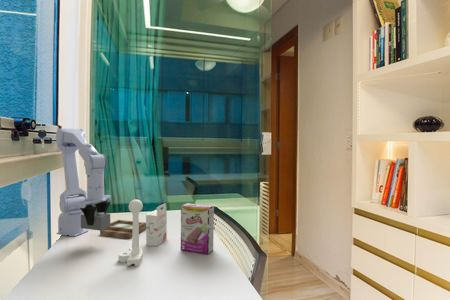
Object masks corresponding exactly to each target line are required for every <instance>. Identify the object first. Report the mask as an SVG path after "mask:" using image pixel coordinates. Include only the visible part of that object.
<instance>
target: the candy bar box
mask: <svg viewBox="0 0 450 300" xmlns="http://www.w3.org/2000/svg"><path fill="white" fill-rule="evenodd" d="M214 218H215V206H214V205H210V204H209V205H208V204H197V203H192V202H191V203H188V202H187V203H184V204H182V205H181V207H180V251H184V252H191V253H197V254H202V253H203V254H204V255H210V253H211V252H213V251H214V232H215V230H214V228H215V227H214V226H215V225H214V222H215V220H214Z"/></svg>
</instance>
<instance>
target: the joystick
mask: <svg viewBox="0 0 450 300" xmlns="http://www.w3.org/2000/svg"><path fill="white" fill-rule="evenodd" d="M143 205H144V204H143V202H142V201H141V200H140V199H135V198H134V199H132V200H131V201H129V204H128V210H129V212H131V214H132V221H133V229H132V238H131V239H132V240H131V241H132V243H131V246H129V247H128V251H127V250H126V251H121V252H119V253H118V255H117V256H118V259H117V260H118V261H119V262H120V263H127V264H126V265H127V266H128V267H129V266H132V265H134V267H139V266H140V265H141V264H142V262H143V253H144V252H143V249H142V247H141V246H140V233H139V222H140V221H139V220H140V219H139V218H140V217H139V214H140V212H141V211H142V210H143V208H144V207H143Z"/></svg>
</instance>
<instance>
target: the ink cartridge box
mask: <svg viewBox="0 0 450 300" xmlns="http://www.w3.org/2000/svg"><path fill="white" fill-rule="evenodd" d="M167 211H168V210H167V203H166V202H164V203H163V204H161V205H159V206H157V207H156V209H155V210H152V211H151V212H149V213H147V214H145V223H146V230H145V232H146V233H145V235H146V236H145V241H146V243H145V244H146V246H151V247H153V246H154V247H159V246H160V245H161V244H162V243H163V242H164V241H165V240H167V233H168V231H167V225H168V223H167V216H168V215H167V213H168V212H167Z"/></svg>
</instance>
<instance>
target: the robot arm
mask: <svg viewBox="0 0 450 300" xmlns="http://www.w3.org/2000/svg"><path fill="white" fill-rule="evenodd" d="M55 134H56V135H55V140H56V147H57V150H59V151H61V155H62V163H63V170H64V180H65V188H66V189H65V190H64V191H63V192H61V194H60V195H59V209H60V212H61V213H60V214H59V216H58V217H57V218H58V219H57V224H58V225H57V229H58V232H57V233H56V235H61V236H67V235H69V237H78V236H79V235H82V234H84V233H86V232H89V231H90V229H83V228H81V215H82V214H84V216H85V218H86V222H87V225H91V226H92V225H93V224H94V215H95V212H104V213H107V211H108V208H109V207H110V205H111V200H112V195H111V194H105V170H106V168H107V166H108V159H107V157H106V154H104V153H99V152H98V151H97V149H96V148H95V146H94V145H92V144H91V143H89V142H87V140H86V132H85V130H84V129H82V128H80V129H79V128H62V127H60V128H58V129H57V130H56V133H55ZM76 151H78V155H79V156H80V157H81V159H82V160H83V161H84V162H83V164H84V170H85V175H86V182H87V183H86V186H87V188H86V190H85V189H83V188H81V187H80V182H79V174H78V173H79V172H78V166H77V159H76V157H77V156H76ZM93 205H94V206H93Z"/></svg>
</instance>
